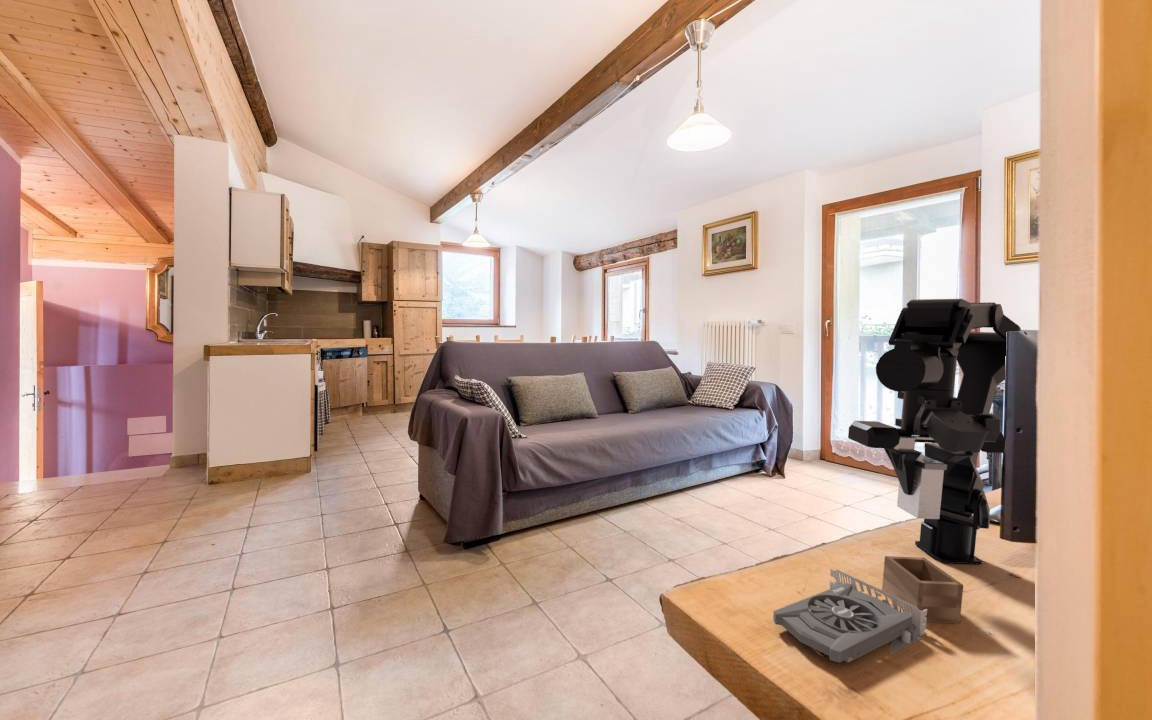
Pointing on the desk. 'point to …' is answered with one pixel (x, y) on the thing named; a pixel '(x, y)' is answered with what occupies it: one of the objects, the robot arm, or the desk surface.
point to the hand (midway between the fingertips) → (919, 494)
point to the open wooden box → (923, 588)
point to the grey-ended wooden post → (924, 489)
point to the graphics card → (851, 620)
